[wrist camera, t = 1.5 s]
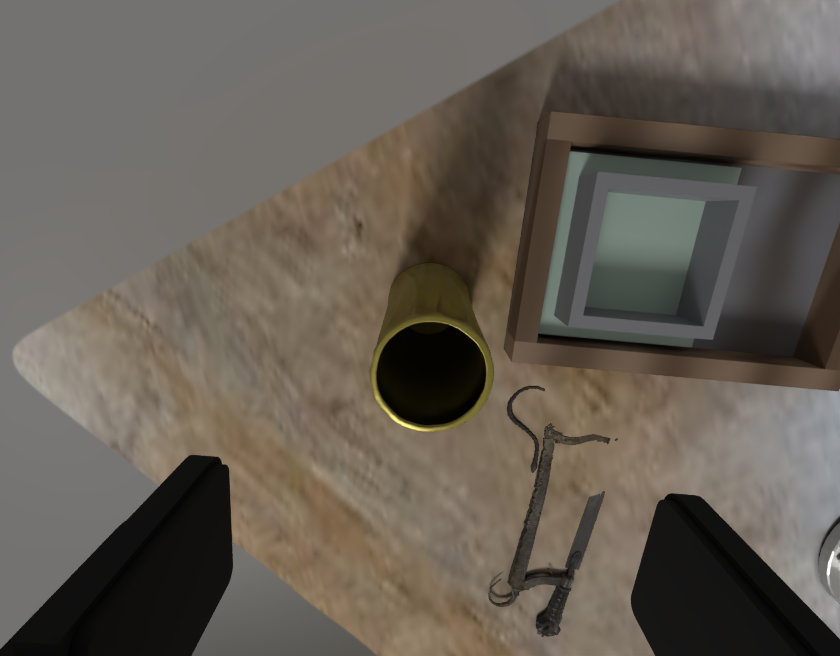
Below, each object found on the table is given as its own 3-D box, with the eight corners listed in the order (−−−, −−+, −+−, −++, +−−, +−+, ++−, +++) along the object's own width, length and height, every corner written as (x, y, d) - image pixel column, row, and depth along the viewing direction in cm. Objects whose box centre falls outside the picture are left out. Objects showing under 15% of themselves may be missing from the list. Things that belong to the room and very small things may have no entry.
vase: (393, 347, 32) (368, 448, 18) (382, 267, 30) (347, 312, 17) (473, 338, 32) (509, 435, 18) (466, 258, 30) (501, 296, 16)
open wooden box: (880, 155, 28) (933, 148, 25) (801, 375, 32) (838, 391, 29) (538, 122, 28) (551, 111, 25) (503, 348, 32) (511, 361, 29)
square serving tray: (728, 169, 28) (780, 162, 23) (681, 342, 31) (720, 362, 27) (563, 154, 27) (586, 143, 23) (533, 328, 31) (550, 346, 27)
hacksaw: (553, 630, 40) (558, 645, 38) (447, 612, 39) (448, 627, 38) (637, 402, 33) (647, 411, 32) (512, 378, 33) (516, 386, 31)
